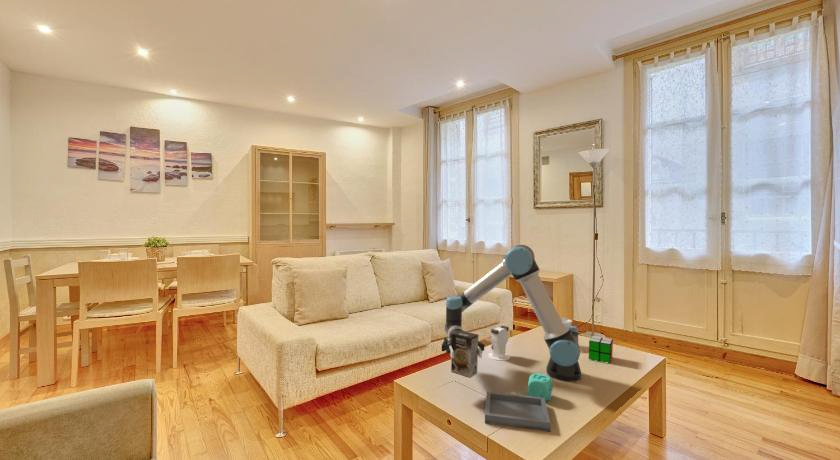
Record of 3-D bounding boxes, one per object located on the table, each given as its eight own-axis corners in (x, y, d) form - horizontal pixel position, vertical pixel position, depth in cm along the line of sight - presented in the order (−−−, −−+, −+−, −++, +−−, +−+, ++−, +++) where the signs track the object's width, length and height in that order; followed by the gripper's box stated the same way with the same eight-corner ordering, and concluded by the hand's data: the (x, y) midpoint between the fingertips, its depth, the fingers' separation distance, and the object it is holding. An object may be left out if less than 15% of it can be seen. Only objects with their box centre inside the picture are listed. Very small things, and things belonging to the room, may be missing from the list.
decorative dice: (532, 390, 157) (532, 371, 157) (551, 395, 153) (552, 376, 153) (527, 398, 150) (527, 378, 150) (547, 403, 146) (548, 383, 146)
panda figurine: (496, 350, 202) (497, 323, 202) (515, 356, 195) (515, 327, 194) (483, 356, 194) (484, 327, 193) (502, 362, 186) (503, 332, 185)
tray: (544, 405, 145) (544, 397, 144) (550, 431, 127) (550, 423, 127) (486, 398, 149) (486, 391, 149) (484, 423, 132) (485, 414, 131)
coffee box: (450, 372, 151) (451, 333, 150) (458, 367, 156) (459, 329, 155) (470, 378, 145) (471, 338, 145) (478, 373, 151) (478, 333, 150)
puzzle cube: (612, 357, 194) (613, 338, 194) (610, 364, 186) (611, 344, 186) (591, 353, 200) (592, 335, 199) (588, 359, 191) (589, 340, 191)
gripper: (482, 344, 169) (495, 363, 147) (431, 344, 168) (437, 364, 146) (482, 327, 169) (495, 345, 147) (431, 328, 167) (437, 345, 145)
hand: (466, 354), depth 146 cm, fingers closed on coffee box, 10 cm apart
